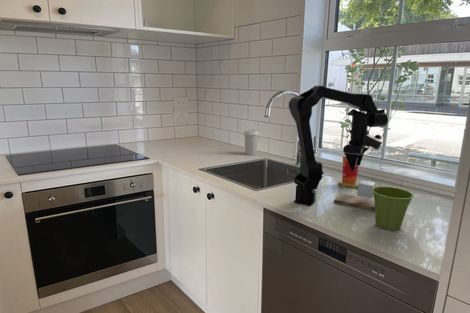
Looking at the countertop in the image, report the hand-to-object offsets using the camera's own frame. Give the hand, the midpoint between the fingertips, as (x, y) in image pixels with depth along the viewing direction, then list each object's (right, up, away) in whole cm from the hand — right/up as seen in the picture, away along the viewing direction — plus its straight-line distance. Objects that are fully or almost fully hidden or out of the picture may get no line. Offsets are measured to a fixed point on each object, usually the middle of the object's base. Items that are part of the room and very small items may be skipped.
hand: (355, 167), depth 128 cm
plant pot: (+2, -18, -23) cm, 29 cm away
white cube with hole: (+2, -10, -6) cm, 12 cm away
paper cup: (+4, -8, +21) cm, 23 cm away
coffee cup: (-37, +6, +79) cm, 88 cm away
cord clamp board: (0, -13, -4) cm, 14 cm away
